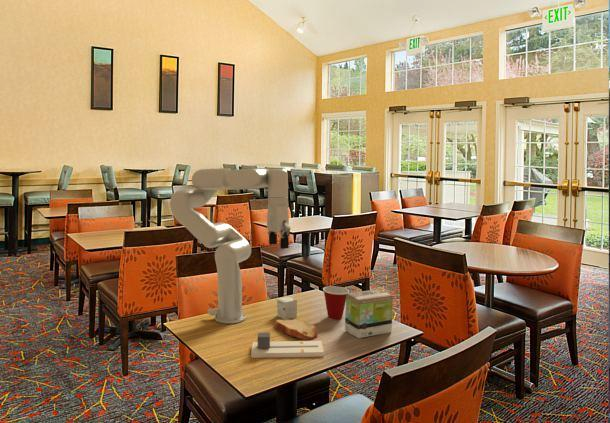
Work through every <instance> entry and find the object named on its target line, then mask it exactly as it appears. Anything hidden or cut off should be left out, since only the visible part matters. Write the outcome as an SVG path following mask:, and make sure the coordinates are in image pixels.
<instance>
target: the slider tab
mask: <svg viewBox="0 0 610 423" xmlns="http://www.w3.org/2000/svg"><path fill="white" fill-rule="evenodd" d="M257 342H258V348H270V342H271V333H270V332H258V333H257Z"/></svg>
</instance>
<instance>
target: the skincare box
mask: <svg viewBox="0 0 610 423" xmlns="http://www.w3.org/2000/svg"><path fill="white" fill-rule="evenodd" d="M276 302H277V304H276V307H277V308H276V316H277V317H279V318H281V319H282V320H292V319H295V318H298V314H297V313H298V312H297V311H298V309H297V308H298V300H297V299H295V298H293V297H290V296H285V297H281V298H277V300H276Z"/></svg>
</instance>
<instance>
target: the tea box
mask: <svg viewBox="0 0 610 423" xmlns="http://www.w3.org/2000/svg"><path fill="white" fill-rule="evenodd" d="M393 303H394V295H392V294H390V293H388V292H385V291H383V290H381V289H379V288H377V289H371V290H369V289H368V290H363V291H356V292H349V293H347V294H346V302H345V312H344V313H345V316H344V317H345V319H344V320H345V321H344V330H345V331H346V332H347V333H349V334H350V335H352V336H354V337H355V338H357V339H362V338H366V337H373V336H377V335H385V334H390V332H391V333H392V331H393V330H392V328H393V306H394V305H393Z"/></svg>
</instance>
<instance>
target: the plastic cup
mask: <svg viewBox="0 0 610 423" xmlns="http://www.w3.org/2000/svg"><path fill="white" fill-rule="evenodd" d="M322 291H323V294H324V300H325V306H326V311H327V312H326V313H327V318H328V319H330V320H341V319H342V318H343V316H344V311H345V308H346V294H347V293H350V290H349V289H347V288H345V287H342V286H335V285H331V286H330V285H329V286H324V287H323V288H322Z"/></svg>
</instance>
